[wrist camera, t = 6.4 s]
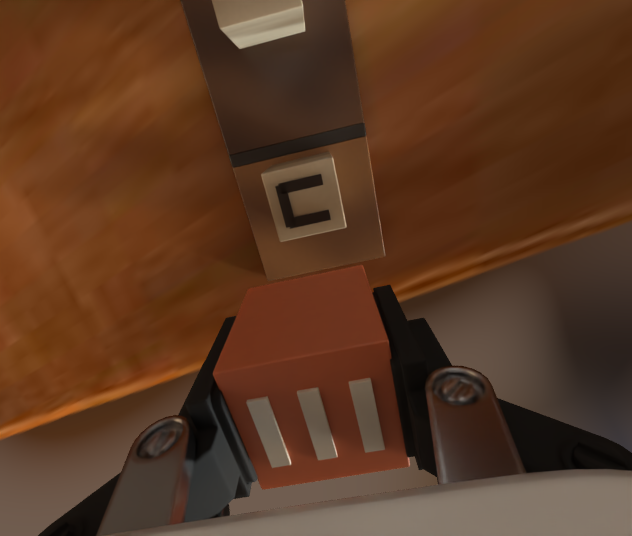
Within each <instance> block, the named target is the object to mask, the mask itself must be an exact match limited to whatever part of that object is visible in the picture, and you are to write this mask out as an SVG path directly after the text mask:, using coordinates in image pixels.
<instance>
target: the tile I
mask: <svg viewBox="0 0 632 536" xmlns="http://www.w3.org/2000/svg"><path fill="white" fill-rule="evenodd" d="M212 3H213V7H214V10H215V14H216V17H217V21H218V24H219V28H220V29H221V30H222V32H223V33H224V34H225V35H226V36H227V37H228V38H229V39H230V40H231V41H232V42H233V43H234V44H235V45H236V46H237V47H238V48H239V49H242V48H246V47H249V46H253V45H257V44H260V43H264V42H268V41H271V40H275V39H279V38H282V37H286V36H290V35H294V34H297V33H301V32H305V21H304V11H303V3H302V0H212Z"/></svg>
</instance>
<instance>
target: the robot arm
mask: <svg viewBox="0 0 632 536" xmlns="http://www.w3.org/2000/svg"><path fill="white" fill-rule="evenodd" d="M372 294H373V297H374V300H375V303H376V306H377V308H378V311H379V314H380V317H381V320H382V323H383V326H384V329H385V331H386V334H387V337H388V340H389V346H390V351H391V357H392V358H391V359H390V365H391V370H392V376H393V382H394V387H395V393H396V399H397V404H398V410H399V416H400V422H401V427H402V433H403V439H404V444H405V450H406V455H407V457H413V456H415V458H416V462H417V465H418V468H419V470H422V469H424V470H426V471H427V472H429V473H431V474H433V475H435V476H436V477H437V480H438V485H434V486H426V487H420V488H413V489H406V490H399V491H393V492H385V493H378V494H371V495H365V496H357V497H351V498H344V499H337V500H330V501H324V502H317V503H310V504H304V505H298V506H291V507H284V508H277V509H271V510H264V511H257V512H251V513H244V514H238V515H231V516H230V511H229V510H230V509H229V504H228V503H229V502H230V501H231V500H232V499H236V498H242V497H249V495H250V489H251V483H252V482H255V481H256V480H257V478H258V476H257V474H256V471H255V469H254V467H253V464H252V462H251V460H250V457H249V455H248V453H247V450H246V448H245V446H244V443H243V441H242V438H241V436H240V434H239V431H238V429H237V427H236V424H235V422H234V420H233V417H232V415H231V413H230V410H229V408H228V405H227V403H226V401H225V398H224V396H223V394H222V391H220V390H219V388H218V385H217V383H216V380H215V378H214V376H213V371H214V369H215V366H216V364H217V362H218V359H219V357H220V354H221V352H222V350H223V347H224V345H225V343H226V340H227V338H228V336H229V333H230V331H231V328H232V326H233V324H234V321H235V319H236V317H237V316H234V317H229V318H226V319H225V321H224V323H223V325H222V327H221V329H220V331H219V334H218V336H217V338H216V340H215V342H214V344H213V346H212V348H211V350H210V352H209V354H208V356H207V358H206V360H205V362H204V363H203V365H202V367H201V370H200V372H199V374H198V376H197V378H196V380H195V382H194V384H193V386H192V388H191V390H190V392H189V394H188V397H187V398H186V400H185V402H184V405H183V407H182V409H181V411H180V413H179V415H173V416H169V417H165V418H163V419H160V420H158V421H156V422H155V423H153V424H151V425H150V426H149V427H147V428H146V429H145V430H144V431H143V432H141V434H140V435H139V436H138V437H137V438H136V439H135V441H134V443H133V445H132V447H131V449H130V451H129V454H128V456H127V459H126V461H125V464H124V466H123V469H122V471H121V473H119V474H118V475H117V476H115V477H114V478H113V479H111V480H110V481H108V482H107V483H106V484H104V485H103V486H102V487H100V488H99V489H98V490H96V491H95V492H94V493H92V494H91V495H90V496H88V497H87V498H86V499H84V500H83V501H82V502H80V503H79V504H78V505H77V506H75V507H74V508H72V509H71V510H70V511H68V512H67V513H66V514H64V515H63V516H62V517H60V518H59V519H58V520H56V521H55V522H54V523H52V524H51V525H50V526H48V527H47V528H46V529H45V530H44V531H43V532H42V533H40V534H39V535H38V536H632V453H631V452H630V451H628V450H627V449H625V448H624V447H622V446H621V445H619V444H617V443H615V442H613V441H610V440H608V439H606V438H604V437H601V436H598V435H596V434H593V433H590V432H588V431H585V430H582V429H579V428H577V427H574V426H571V425H569V424H565V423H563V422H560V421H558V420H555V419H552V418H550V417H547V416H544V415H541V414H539V413H536V412H533V411H531V410H528V409H525V408H522V407H520V406H517V405H514V404H512V403H509V402H506V401H503V400H501V399H498V398H497V397H496V394H495V392H494V389H493V387H492V385H491V383H490V381H489V380H488V378H487V377H485V376H484V375H482V373H480V372H478V371H476V370H474V369H472V368H468V367H464V366H452V365H451V363H450V361H449V359H448V358H447V356H446V354H445V352H444V351H443V349H442V347H441V346H440V344H439V342H438V341H437V339H436V337H435V335H434V334H433V332H432V330H431V328H430V327H429V325H428V323H427V322H426V320H425V319H424V318H420V319H414V320H409V321H407V319H406V317H405V315H404V313H403V311H402V309H401V307H400V305H399V302H398V300H397V298H396V296H395V294H394V292H393V290H392V288H391V286H390V285H387V286H382V287H377V288H374V292H373V293H372Z"/></svg>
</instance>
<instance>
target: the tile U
mask: <svg viewBox="0 0 632 536" xmlns="http://www.w3.org/2000/svg"><path fill="white" fill-rule="evenodd" d="M261 176H262V180H263V184H264V187H265V191H266V194H267V198H268V201H269V205H270V208H271V212H272V215H273V219H274V223H275V226H276V230H277V233H278V237H279V240H280V242H283V241H288V240H292V239H297V238H301V237H306V236H310V235H315V234H320V233H324V232H329V231H333V230H338V229H342V228H346V226H347V225H346V220H345V215H344V210H343V205H342V200H341V195H340V190H339V185H338V180H337V175H336V170H335V165H334V160H333V157H332V155H331V154H330V152H325V153H321V154H317V155H312V156H308V157H304V158H300V159H296V160H292V161H287V162H283V163H279V164H275V165H271V166H270V167H269V168H268V169H267V170H266V171H264V172H263V173H262V174H261Z"/></svg>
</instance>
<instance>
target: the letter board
mask: <svg viewBox="0 0 632 536" xmlns="http://www.w3.org/2000/svg"><path fill="white" fill-rule="evenodd" d="M181 3H182V7H183V10H184V13H185V16H186V20H187V23H188V26H189V29H190V32H191V36H192V39H193V42H194V45H195V48H196V52H197V55H198V58H199V61H200V65H201V68H202V71H203V74H204V77H205V81H206V84H207V87H208V90H209V93H210V97H211V100H212V103H213V106H214V110H215V113H216V116H217V119H218V122H219V126H220V129H221V132H222V135H223V138H224V142H225V145H226V148H227V151H228V154H229V155H230V156H229V158H230V161H231V164H232V167H233V171H234V174H235V177H236V180H237V183H238V187H239V190H240V193H241V196H242V199H243V203H244V206H245V209H246V212H247V216H248V219H249V222H250V225H251V228H252V232H253V235H254V238H255V241H256V244H257V248H258V251H259V254H260V257H261V260H262V264H263V267H264V270H265V273H266V277H267V280H268V281H271V280H275V279H280V278H285V277H290V276H294V275H299V274H304V273H309V272H313V271H318V270H323V269H328V268H332V267H337V266H342V265H347V264H352V263H356V262H361V261H366V260H371V259H375V258H380V257H385V250H384V244H383V238H382V231H381V225H380V219H379V212H378V206H377V200H376V193H375V187H374V181H373V174H372V168H371V162H370V155H369V149H368V143H367V137H366V130H365V123H363V122H364V117H363V111H362V105H361V98H360V92H359V86H358V79H357V73H356V67H355V60H354V54H353V47H352V41H351V35H350V28H349V22H348V16H347V9H346V3H345V0H302V3H303V11H304V21H305V32H301V33H297V34H294V35H290V36H286V37H282V38H279V39H275V40H271V41H268V42H264V43H260V44H257V45H253V46H249V47H246V48H242V49H239V48H238V47H237V46H236V45H235V44H234V43H233V42H232V41H231V40H230V39H229V38H228V37H227V36H226V35H225V34H224V33H223V32H222V30H221V29H220V28H219V24H218V21H217V17H216V14H215V10H214V7H213V3H212V0H181ZM325 152H330V154H331V155H332V157H333V160H334V165H335V170H336V175H337V180H338V185H339V190H340V195H341V200H342V205H343V210H344V215H345V220H346V225H347V226H346V228H342V229H338V230H333V231H329V232H324V233H320V234H315V235H310V236H306V237H301V238H297V239H292V240H288V241H283V242H280V240H279V237H278V233H277V230H276V226H275V223H274V219H273V215H272V212H271V208H270V205H269V201H268V198H267V194H266V191H265V187H264V184H263V180H262V176H261V174H262V173H263V172H264V171H266V170H267V169H268V168H269V167H270V166H271V165H275V164H279V163H283V162H287V161H292V160H296V159H300V158H304V157H308V156H312V155H317V154H321V153H325Z"/></svg>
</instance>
